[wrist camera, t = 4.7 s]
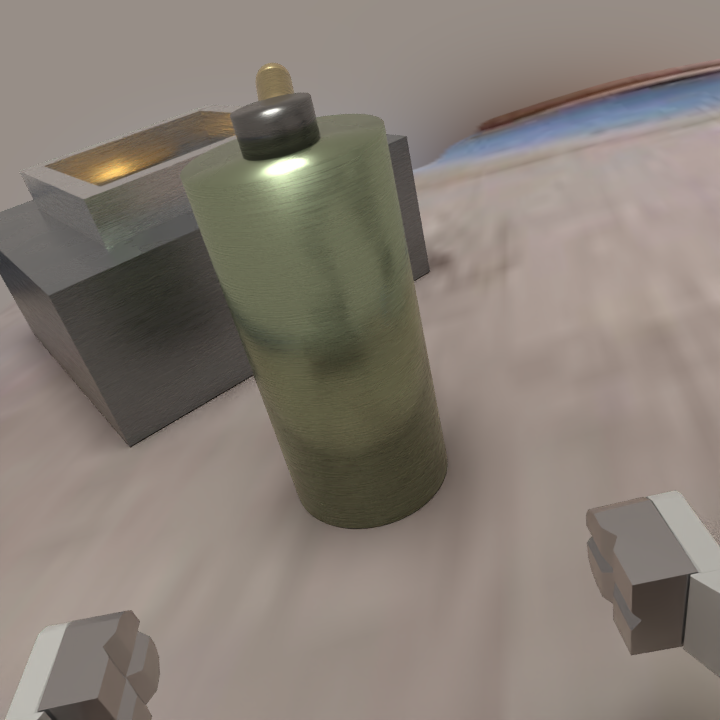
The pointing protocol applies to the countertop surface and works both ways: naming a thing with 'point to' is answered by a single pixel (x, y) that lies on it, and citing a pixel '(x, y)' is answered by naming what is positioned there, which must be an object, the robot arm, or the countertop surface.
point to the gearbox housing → (140, 270)
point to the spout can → (324, 301)
